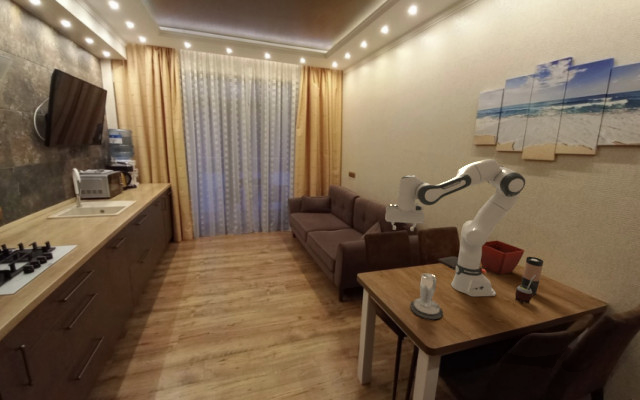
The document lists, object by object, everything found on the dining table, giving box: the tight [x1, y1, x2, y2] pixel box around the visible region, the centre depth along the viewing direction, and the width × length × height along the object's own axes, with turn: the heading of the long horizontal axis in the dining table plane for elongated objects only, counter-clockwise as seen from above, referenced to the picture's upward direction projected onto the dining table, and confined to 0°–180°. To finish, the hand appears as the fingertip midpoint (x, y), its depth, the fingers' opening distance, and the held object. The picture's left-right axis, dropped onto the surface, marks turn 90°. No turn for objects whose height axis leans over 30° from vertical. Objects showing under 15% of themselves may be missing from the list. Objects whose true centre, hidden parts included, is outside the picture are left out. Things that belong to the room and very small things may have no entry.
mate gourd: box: [514, 275, 536, 305], centre depth 143 cm, size 8×8×15 cm
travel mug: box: [520, 256, 544, 296], centre depth 153 cm, size 8×8×20 cm
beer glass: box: [419, 272, 437, 308], centre depth 131 cm, size 7×7×15 cm
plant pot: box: [480, 240, 525, 276], centre depth 181 cm, size 19×19×17 cm
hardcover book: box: [437, 255, 458, 271], centre depth 185 cm, size 16×23×2 cm
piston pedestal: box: [409, 297, 444, 321], centre depth 132 cm, size 15×15×3 cm
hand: (402, 230), depth 147 cm, fingers open, 8 cm apart
